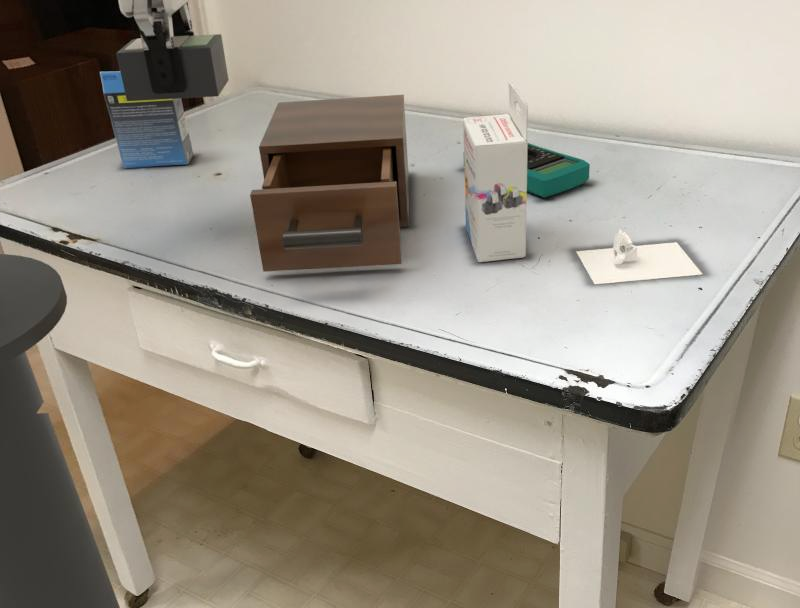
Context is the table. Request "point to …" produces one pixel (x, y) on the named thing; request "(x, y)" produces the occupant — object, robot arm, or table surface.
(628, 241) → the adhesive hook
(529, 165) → the digital multimeter
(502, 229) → the ink box
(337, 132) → the cabinet
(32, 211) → the table surface
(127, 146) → the label tape box
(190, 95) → the grey rectangular box
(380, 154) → the drawer
